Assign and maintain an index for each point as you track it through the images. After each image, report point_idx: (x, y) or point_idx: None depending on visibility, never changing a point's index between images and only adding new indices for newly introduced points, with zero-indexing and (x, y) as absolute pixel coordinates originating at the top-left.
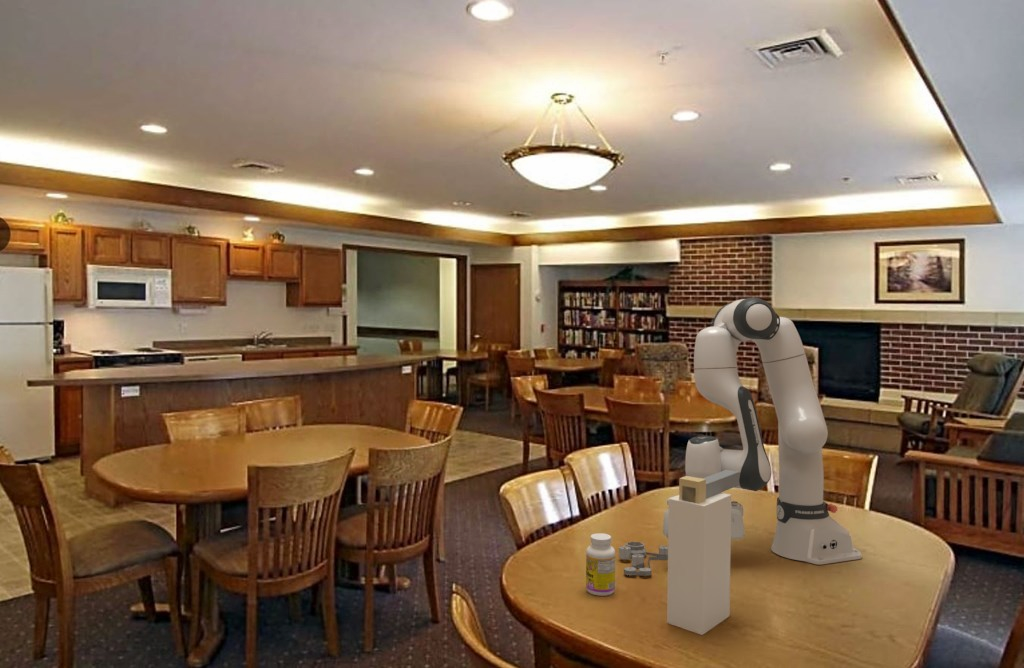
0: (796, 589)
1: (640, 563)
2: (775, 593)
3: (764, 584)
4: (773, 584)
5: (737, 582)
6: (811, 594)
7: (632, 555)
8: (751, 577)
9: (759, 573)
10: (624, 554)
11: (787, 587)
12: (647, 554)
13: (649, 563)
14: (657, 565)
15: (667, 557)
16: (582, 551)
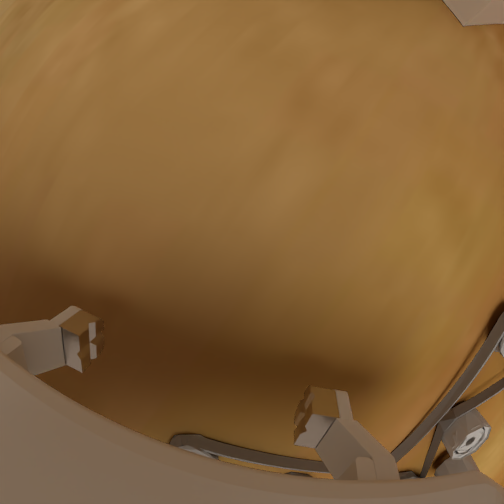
0: (38, 40)
1: (471, 411)
2: (113, 6)
3: (79, 79)
4: (55, 78)
5: (160, 113)
6: (40, 12)
7: (473, 450)
8: (69, 157)
9: (25, 193)
10: (472, 462)
11: (43, 53)
12: None
13: (449, 409)
14: (392, 422)
15: (311, 467)
16: None
